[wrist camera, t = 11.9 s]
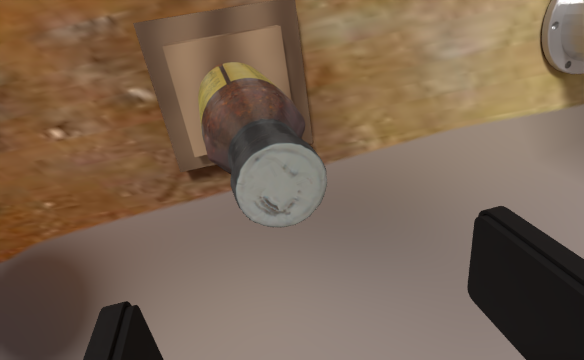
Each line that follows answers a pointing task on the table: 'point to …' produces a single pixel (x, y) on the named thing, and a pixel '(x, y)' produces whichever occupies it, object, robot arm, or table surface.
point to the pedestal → (218, 50)
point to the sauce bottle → (260, 145)
